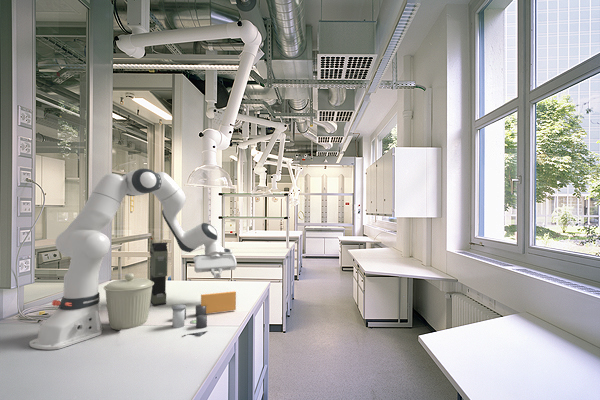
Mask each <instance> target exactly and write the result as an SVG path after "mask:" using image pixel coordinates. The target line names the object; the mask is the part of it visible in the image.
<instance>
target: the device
mask: <svg viewBox="0 0 600 400" xmlns="http://www.w3.org/2000/svg"><path fill="white" fill-rule="evenodd" d="M167 245H168V242H152V243H150V248H149V256H150V262H149V263H150V264H149V266H150V267H149V269H150V271H149V272H150V274H149V275H150V276H149V277H150V278H149V280H151V281H153V282H154V285H153V286H152V293H151V300H150V305H151V306H152V307H159V306H166V305H167V292H166V291H167V290H166V287H167V286H166V285H167V283H166V278H167V277H168V262H169V261H168V258H169V256H168V254H169V252H168V247H169V246H167Z"/></svg>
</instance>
